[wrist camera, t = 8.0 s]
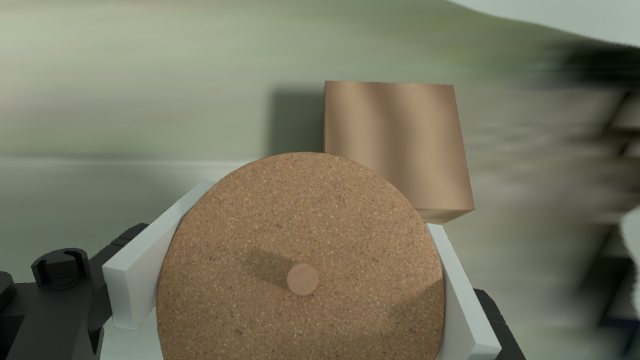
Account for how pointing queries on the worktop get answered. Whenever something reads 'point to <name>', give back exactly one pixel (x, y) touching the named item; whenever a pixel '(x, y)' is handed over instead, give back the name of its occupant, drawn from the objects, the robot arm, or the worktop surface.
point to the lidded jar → (301, 268)
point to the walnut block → (402, 141)
